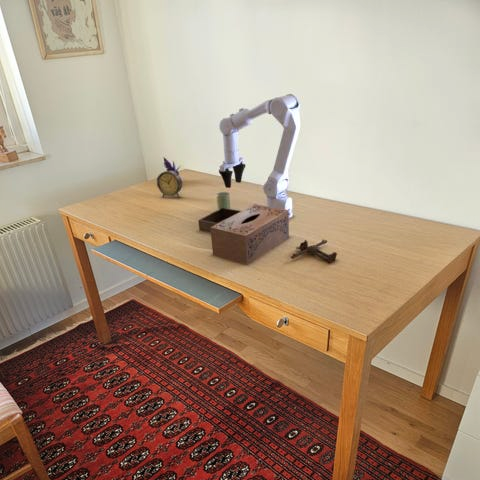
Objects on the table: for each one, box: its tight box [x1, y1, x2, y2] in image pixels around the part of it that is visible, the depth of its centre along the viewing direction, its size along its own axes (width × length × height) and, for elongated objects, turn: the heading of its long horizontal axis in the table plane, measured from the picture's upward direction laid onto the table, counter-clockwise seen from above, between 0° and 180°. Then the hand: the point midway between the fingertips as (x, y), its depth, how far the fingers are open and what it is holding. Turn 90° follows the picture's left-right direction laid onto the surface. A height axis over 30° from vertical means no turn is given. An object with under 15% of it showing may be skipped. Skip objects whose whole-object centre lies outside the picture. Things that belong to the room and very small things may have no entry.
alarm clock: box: [156, 160, 183, 198], centre depth 202 cm, size 11×5×16 cm, turn 73°
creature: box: [156, 157, 181, 180], centre depth 222 cm, size 9×18×12 cm, turn 140°
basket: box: [197, 208, 242, 234], centre depth 170 cm, size 14×15×4 cm
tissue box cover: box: [210, 203, 290, 266], centre depth 153 cm, size 26×14×10 cm, turn 144°
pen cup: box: [216, 191, 231, 210], centre depth 182 cm, size 5×5×8 cm
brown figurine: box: [290, 238, 338, 264], centre depth 145 cm, size 18×4×14 cm
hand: (233, 184), depth 182 cm, fingers open, 7 cm apart
